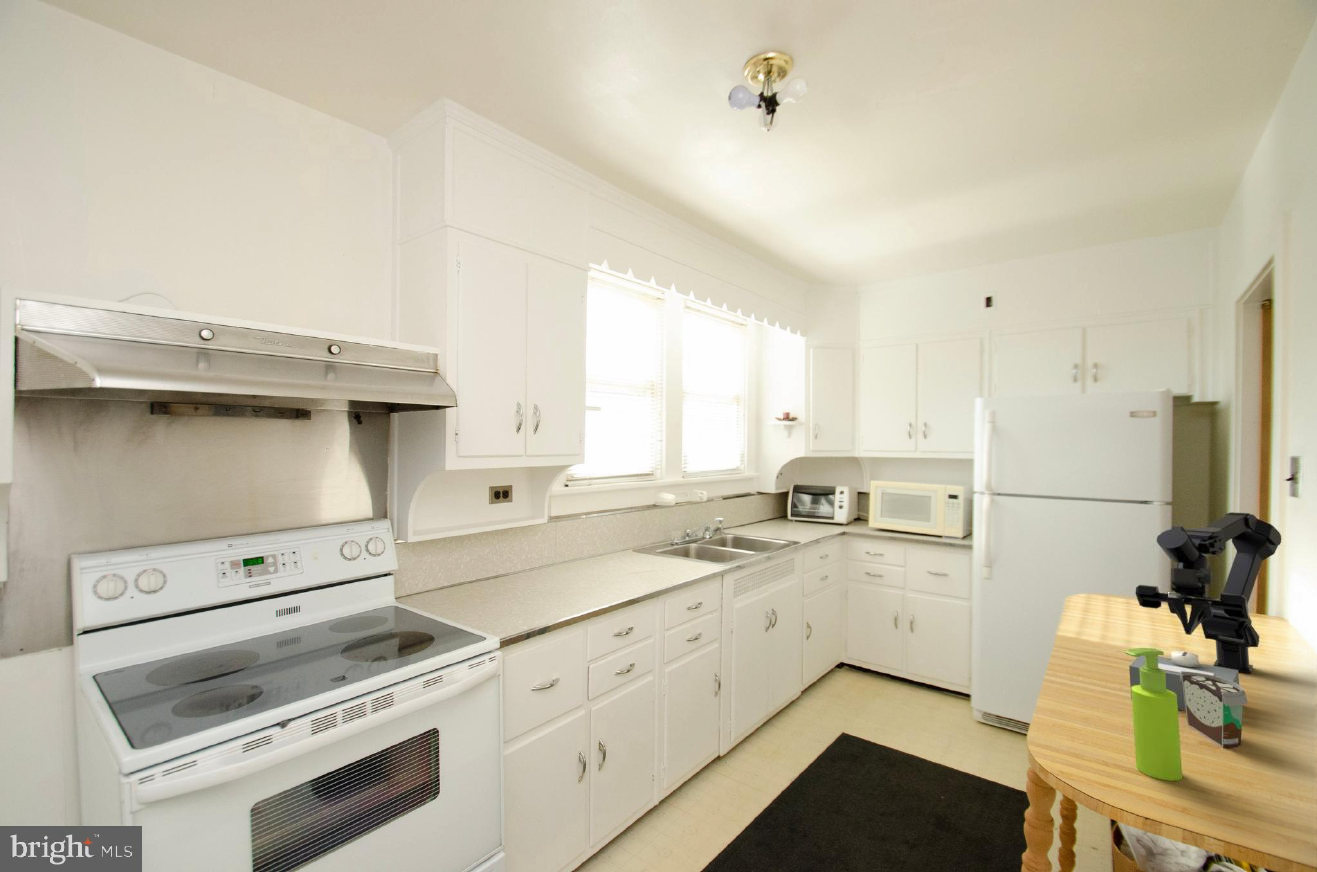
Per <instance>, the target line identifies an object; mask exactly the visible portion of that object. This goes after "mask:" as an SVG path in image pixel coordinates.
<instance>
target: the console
mask: <svg viewBox="0 0 1317 872" xmlns="http://www.w3.org/2000/svg"><path fill="white" fill-rule="evenodd" d="M1128 666H1129V683H1130V685H1129V686H1130V688H1131V687H1132V686H1135V685H1140V672H1139V668H1140V667H1143V666H1145V655H1144V656H1139V657H1135V659H1134V660H1133V661H1132V662H1131V663H1130V664H1129V665H1128ZM1158 668H1160V669H1162V670H1164V671H1165V674H1166V689H1167V690H1170V691H1172V692H1174V693H1175V694H1176V695H1177V706H1178V710H1180V711H1184V712H1186V707H1185V700H1184V692H1183V685H1182V681H1180V674H1181V671H1185V672H1195V673H1202V674H1207V675H1212V676H1216V677H1220V678H1224V679H1227V680H1230V681H1232V682H1235V683H1237V684H1239V685H1240V676H1239V674H1240V673H1239V671H1238V670H1235V669H1229V668H1223V667H1217V666H1214V665H1211V664H1204V663H1200V662H1199V666H1198V667H1186V666H1181V665H1177V664H1174V663H1172V658H1171V657H1164V656H1161V655H1158ZM1130 700H1132V693H1131V692H1130Z"/></svg>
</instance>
